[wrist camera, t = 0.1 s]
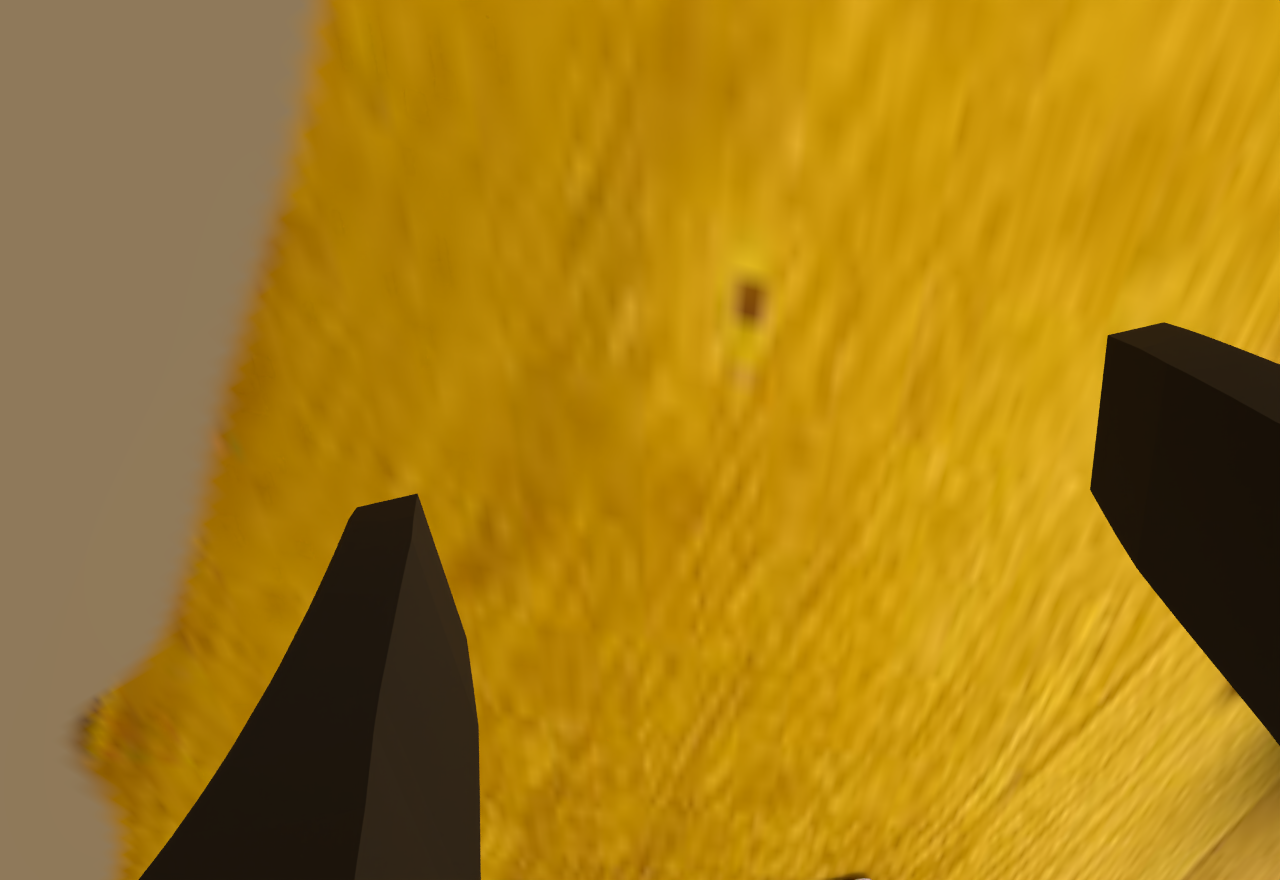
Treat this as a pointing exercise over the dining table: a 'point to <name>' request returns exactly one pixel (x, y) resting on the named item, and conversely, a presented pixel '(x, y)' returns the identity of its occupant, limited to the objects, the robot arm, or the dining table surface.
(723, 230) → the dining table surface
